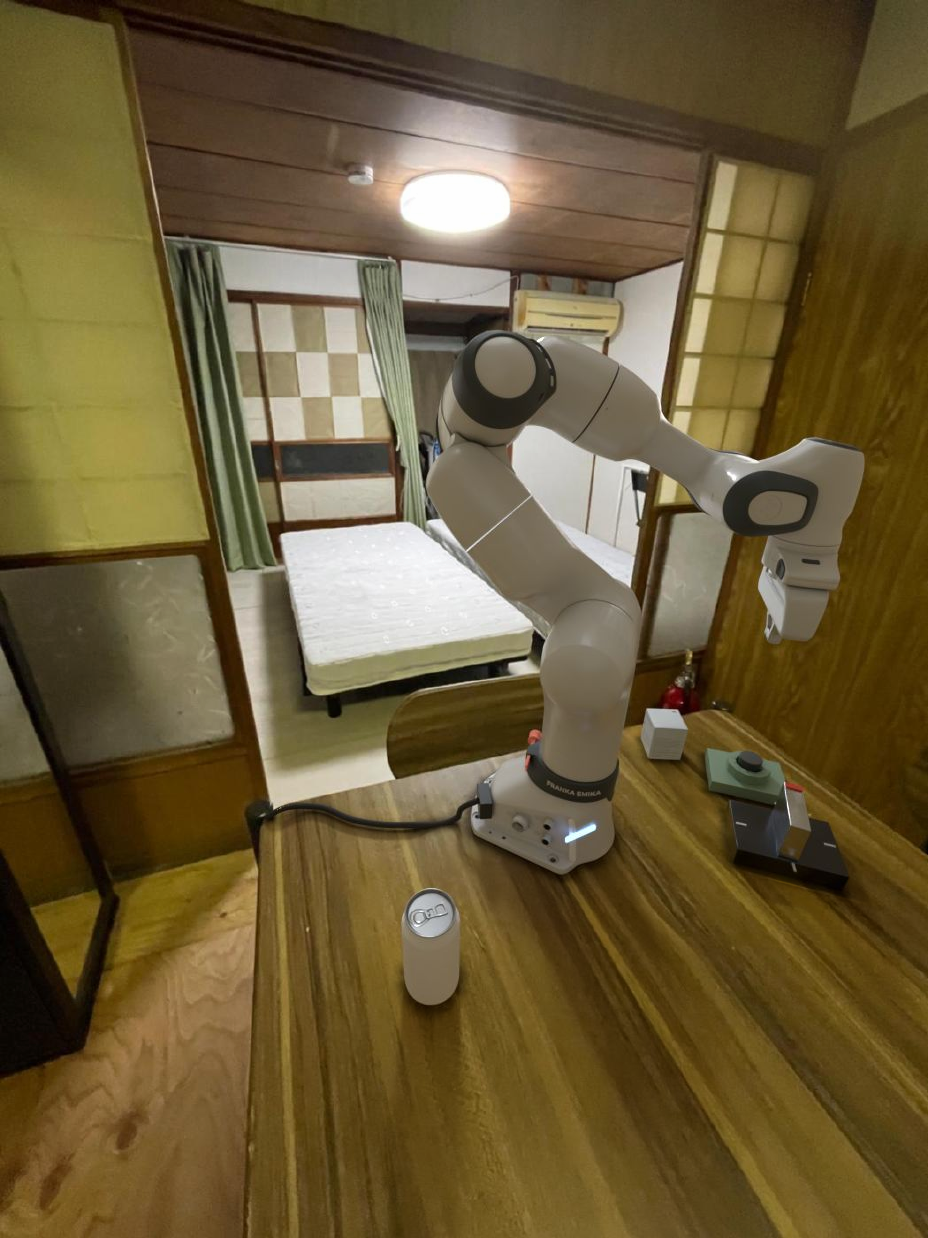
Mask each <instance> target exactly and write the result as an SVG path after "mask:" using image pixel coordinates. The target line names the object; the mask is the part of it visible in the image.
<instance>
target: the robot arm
mask: <svg viewBox="0 0 928 1238" xmlns="http://www.w3.org/2000/svg"><path fill="white" fill-rule="evenodd" d="M529 426H535V427H540V428H545V429H547V430H549V431H552V432H554V433H555V434H556V435H558V436H560V437H561V438H563V439H564V440H565V441H567V442H570V443H571V444H573V445H574V446H576V447H577V448H580V449H581V450H584V451H586V452H588V453H589V454H593V455H595V456H598V457H600V458H603V459H606V460H609V461H612V462H623V461H627V460H633V461H637V462H641V463H643V464H645V465H647V466H649V467H651V468H653V469H655V470H656V471H658V472H660V473H661V474H662V475H665V476H667V477H668V478H670V479H671V480H673V481H675V482H676V483H678V484H679V485H681V486H682V487H683V489H685V491H686V493H687V494H688V496H689V498H690V500H691V501H692V503H693V504H694V506H695V507H696V508H697V509H698V510H699V511H701V512H702V513H704V514H706V515H707V516H710V517H711V518H713V519H714V520H715V521H717V522H718V523H720V524H721V525H722V526H723V527H725V528H726V529H728V530H729V531H731V532H732V533H734V534H737V535H740V536H743V537H748V538H757V537H758V538H759V537H767V540H766V542H765V543H766V544H765V547H764V550H763V553H762V557H761V560H760V561H761V564H762V565H763V567H762V570H761V573H760V576H759V579H758V584H757V590H758V592H759V594H760V597H761V598H762V600H763V603H764V605H765V607H766V608H767V613H766V626H765V628H764V632H763V633H764V636H765V637H766V641H767V642H768V643H769V644H772V645H773V644H774V645H779V644H780V643H781V642H782V639H784V640H790V641H797V642H808V641H810V640H811V639H812V638H813V637H814V635H815V634H816V632H817V629H818V627H819V625H820V622H821V621H822V618H823V616H824V613H825V610H826V608H827V605H828V603H829V598H830V591H836V590H837V589H838V587H839V584H840V581H841V574H840V570H839V566H838V557H839V554H838V552H839V550H840V547H841V544H842V540H843V529H844V526H845V523H846V521H847V519H848V518H849V517H850V516H851V514H852V512H853V511H854V507H855V505H856V501H857V499H858V496H859V492H860V489H861V485H862V482H863V478H864V477H863V476H864V471H865V466H866V465H865V463H866V462H865V461H866V460H865V454H864V452H863V451H862V450H861V449H860V448H858V447H857V446H855V445H852V444H848V443H843V442H838V441H835V440H831V439H826V438H820V437H805V438H804V439H802V440H801V441H800V442H799V443H798V444H796V445H795V446H792V447H791V448H789V449H787V450H785V451H783V452H781V453H779V454H776V455H774V456H771V457H768V458H765V459H760V460H756V459H754V458H752V457H751V456H748V455H747V454H745V453H742V452H740V451H735V450H724V449H713V448H710V447H708V446H706V445H704V444H702V443H701V442H700V441H698V440H696V439H694V438H693V437H692V436H690V435H688V434H686V433H685V432H684V431H682V430H680V429H679V428H677V427H676V426H674V425H673V424H672V423H671V422H669V420H668V419H667V418H666V417H665V416H664V414H663V412H662V402H661V399H660V396H659V395H658V393H657V392H656V391H655V390H654V389H653V388H652V387H650V385H649V384H648V383H646V381H644V380H643V379H642V378H641V377H640V376H638V375H637V374H636V373H635V372H633V371H632V370H630V369H629V368H628V367H626V366H624V365H623V364H621V363H620V362H619V361H617V360H615V359H613V358H612V357H610V356H607V355H606V354H604V353H602V352H600V351H598V350H596V349H594V348H592V347H589V346H588V345H585V344H583V343H581V342H578V341H576V340H573V339H570V338H568V337H565V336H562V335H558V334H549V335H545V336H542V337H541V338H539V339H538V340H536V339H535V338H532V337H531V338H530V337H526V336H525V335H522V334H520V333H517V332H514V331H511V330H503V329H494V330H493V329H492V330H487V331H484V332H481V333H479V334H478V335H476V336H475V337H474V338H472V339H471V340H470V341H469V342H468V343H467V344H466V345H465V346H464V348H463V349H462V350H461V351H460V353H459V354H458V356H457V358H456V360H455V361H454V364H453V368H452V372H451V374H450V376H449V378H448V380H447V382H446V383H445V386H444V388H443V390H442V392H441V397H440V401H439V407H438V411H437V414H436V418H435V435H436V441H437V445H438V449H439V455H438V456H437V457H436V458H435V460H434V462H433V463H432V464H431V466H430V468H429V470H428V472H427V475H426V479H425V490H426V494H427V496H428V498H429V500H430V501H431V503H432V505H433V507H434V509H435V511H436V512H437V514H438V515H439V517H440V519H441V520H442V522H443V523H444V525H445V526H446V528H447V529H448V530H449V532H450V534H451V535H452V537H453V538H454V539H455V541H456V542H457V543H458V544H459V546H460V547H461V548H462V549H463V551H464V552H466V554H467V555H468V557H469V558H470V559H471V560H472V561H473V562H474V564H475V565H476V566H477V567H478V568H479V570H480V571H481V572H482V573H483V574H484V576H485V577H486V578H487V579H488V581H489V582H490V583H491V584H492V585H493V586H494V588H495V589H496V590H497V591H498V592H499V593H500V595H502V597H504V598H505V599H507V600H509V601H513V602H517V603H520V604H522V605H524V606H526V607H528V608H529V609H530V610H532V611H533V612H534V613H536V614H538V615H539V616H540V617H541V618H542V619H543V620H544V621H545V622H547V624H548V625H549V627H550V631H549V633H548V635H547V637H546V639H545V641H544V643H543V646H542V651H541V658H540V664H539V665H540V666H539V681H540V686H541V688H542V696H543V718H542V727H541V728H542V729H541V731H540V730H539V729H532V730H530V732H529V735H528V738H527V743H528V744H529V745H528V746H527V748H526V752H525V754H524V755H521V756H517V757H513V758H509V759H507V760H505V761H504V762H502V764H500V766H499V767H498V768H497V770H496V772H495V773H493V774H491V775H490V776H489V777H487V778H486V779H485V781H483V782H478V783H476V794H475V797H474V798H472V799H470V800H467V801H465V802H463V803H461V805H459V806H458V807H457V809H456V813H455V815H454V816H451V817H449V818H446V819H442V820H439V821H383V820H381V821H380V820H373V819H368V818H362V817H357V816H353V815H350V814H347V813H344V812H343V811H340V810H338V809H336V808H334V807H332V806H329V805H327V804H320V803H313V802H296V804H294V803H287V804H284V805H280V806H278V807H276V808H274V809H272V810H271V811H270V812H268V813H267V814H266V815H265V816H264V820H266V821H268V820H269V821H270V820H271V819H273V818H275V816H277V815H279V814H281V813H285V812H287V811H295V810H314V811H315V810H317V811H322V812H325V813H327V814H330V815H332V816H334V817H336V818H338V819H340V820H343V821H345V822H348V823H351V824H355V825H360V826H364V827H365V826H366V827H371V828H372V827H373V828H380V829H381V828H382V829H433V828H437V827H438V828H439V827H444V826H450V825H453V824H455V823H457V822H459V821H460V820H461V819H462V817H463V813H464V812H465V810H468V809H470V808H471V812H470V826H471V830H472V833H473V834H474V835H475V836H477V837H479V838H481V839H483V840H485V841H487V842H489V843H491V844H492V845H496V846H497V847H500V848H502V849H504V850H506V851H508V852H510V853H512V854H514V855H517V856H519V857H520V858H523V859H525V860H526V861H529V862H531V863H534V864H535V865H538V866H540V867H542V868H544V869H546V870H548V871H551V872H552V873H554V874H557V875H560V876H561V875H565V874H568V873H569V872H571V871H572V870H574V869H575V868H576V867H577V866H579V865H581V864H585V863H586V864H587V863H590V862H593V861H597V860H598V859H600V858H601V857H603V856H605V855H606V854H607V853H608V852H609V850H610V849H611V848H612V846H613V844H614V841H615V835H616V832H615V826H614V819H613V798H614V796H615V794H616V791H617V786H618V782H619V777H620V759H619V754H620V749H621V744H622V738H623V732H624V727H625V723H626V716H627V713H628V709H629V708H628V707H629V702H630V697H631V693H632V687H633V682H634V677H635V672H636V666H637V661H638V654H639V648H640V638H641V632H642V626H643V614H642V609H641V606H640V603H639V600H638V598H637V595H636V594H635V591H634V590H633V589H632V588H631V587H630V586H629V585H628V584H627V583H625V582H623V581H622V580H620V579H618V578H615V577H613V576H612V575H611V574H609V572H608V571H607V570H605V568H603V567H602V566H601V565H599V564H598V563H597V562H596V561H595V560H593V559H592V558H591V557H590V556H589V555H587V554H586V553H585V552H584V551H582V549H581V548H580V547H579V546H577V544H575V542H574V541H572V540H571V538H570V537H569V536H568V535H567V534H566V533H565V531H564V530H563V529H562V528H561V526H560V525H559V524H558V522H557V521H556V520H555V518H553V516H552V515H551V514H550V513H549V512H548V510H547V509H546V508H545V507H544V506H543V505H542V503H541V502H540V501H539V500H538V498H537V497H536V496H535V495H534V494H533V493H532V491H531V490H530V489H529V487H528V486H527V485H526V484H525V483H524V482H523V481H522V480H521V478H519V477H518V475H517V473H516V471H515V469H514V468H513V466H512V464H511V461H510V457H509V455H508V454H509V453H508V447H509V446H510V445H511V444H513V443H514V442H515V441H516V440H517V439H519V437H520V435H521V434H522V432H523V431H524V430H525V427H529ZM286 805H289V806H286ZM283 806H284V807H283ZM280 807H282V808H281V809H279V808H280ZM277 809H278V810H277Z"/></svg>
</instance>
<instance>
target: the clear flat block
mask: <svg viewBox="0 0 928 1238" xmlns="http://www.w3.org/2000/svg"><path fill="white" fill-rule="evenodd" d="M807 808H808V807H807V803H806V799H805V794H804V789H803V786H802V785H799V784H794V783H791V782H787V781H786V782H784V783H783V785H782V788H781V791H780V793H779V796H778V798H777V801H776V804H775V805H773V808H772V809H773V816H774V824H775V833H776V841H777V849H778V855H780V856H783V857H786V858H789V859H793V860H796V861H798V860H799V858H800V856H801V853H802V851H803V849H804V846H805V844H806V842H807V840H808V837H809V835H810V833H811V828H810V823H809V818H810V817H809V814H808V813H809V812H808V809H807Z"/></svg>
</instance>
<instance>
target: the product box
mask: <svg viewBox="0 0 928 1238" xmlns="http://www.w3.org/2000/svg"><path fill="white" fill-rule="evenodd" d="M645 709H646V710H645V714H644V718H643V724H642V728H641V733H640V740H641V743H642V745H643V747H644V750H645V754H646V757H647V758H648V759H649V760H651V759H653V760H673V761H680V760H681V758H682V755H683V750H684V747H685V743H686V739H687V736H688V731H689V728H688V726H687V725H686V723H685V720H684V718H683V716H682V714H681V712H680V711H679V709H671V708H670V709H669V708H647V707H646V708H645Z"/></svg>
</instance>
